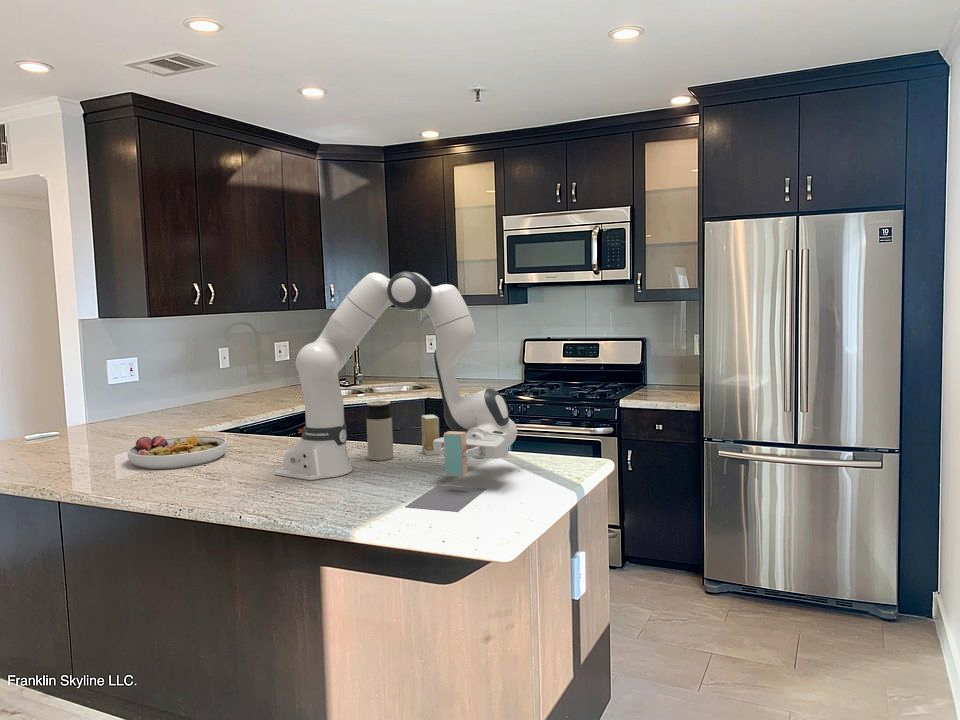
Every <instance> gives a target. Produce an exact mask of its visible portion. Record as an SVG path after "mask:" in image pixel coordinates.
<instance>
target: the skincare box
mask: <svg viewBox="0 0 960 720" xmlns="http://www.w3.org/2000/svg"><path fill="white" fill-rule="evenodd" d="M438 438H440V418H439V417H438V416H437V415H435V414H425V415H424V414H422V415H421V446H422V447H421V448H422V449H421V451H422V453H424V454H425V455H426V456H434V455H436V456H437V455H441V453H435V452H434V450H433V441H434V440H435V439H438Z"/></svg>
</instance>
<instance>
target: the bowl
mask: <svg viewBox="0 0 960 720" xmlns="http://www.w3.org/2000/svg"><path fill="white" fill-rule="evenodd" d="M227 449H228V440H227V439H226V438H223V437H219V436H211V435H210V436H209V435H208V436H206V435H203V436H199V435H194V434H191V435H190V436H181V437H171V438H164V437H163V436H160V435H159V436H158V435H157V436H154V437H152V438H151V437H149V436H142V437H140V438H139V439H137V440H136V441H135V445H134V446H132V447H130V448H128V449H127V457H128V460H129V461H130V463H132V464H133V465H134V466H135V467H139V468H141V469H149V470H169V469H180V468H188V467H194V466H198V465H199V466H200V465H203V464H207V463H210V462H213V461H215V460H217V459H219V458H221V457H222V456H223V455H224V454H225V452H226V451H227Z"/></svg>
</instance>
